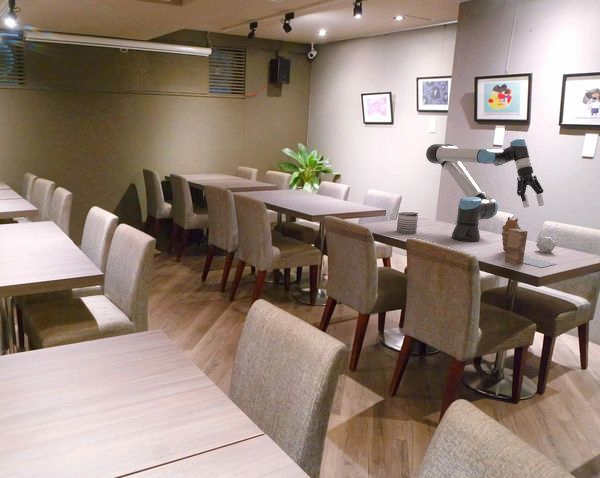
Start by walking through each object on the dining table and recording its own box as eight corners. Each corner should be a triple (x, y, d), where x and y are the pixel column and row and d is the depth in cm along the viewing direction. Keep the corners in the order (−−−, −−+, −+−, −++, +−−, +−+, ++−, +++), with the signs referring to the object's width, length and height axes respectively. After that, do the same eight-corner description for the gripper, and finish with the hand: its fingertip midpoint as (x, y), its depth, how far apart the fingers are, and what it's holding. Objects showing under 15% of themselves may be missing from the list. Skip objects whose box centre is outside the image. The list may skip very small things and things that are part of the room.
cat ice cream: (519, 253, 260) (524, 218, 256) (512, 255, 255) (517, 219, 251) (502, 249, 266) (507, 215, 262) (495, 251, 261) (500, 216, 257)
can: (407, 235, 289) (409, 214, 286) (392, 231, 297) (394, 211, 295) (420, 233, 296) (422, 213, 293) (404, 230, 305) (406, 210, 302)
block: (514, 265, 234) (519, 231, 231) (504, 262, 240) (509, 228, 236) (522, 265, 236) (527, 231, 233) (512, 261, 242) (517, 228, 238)
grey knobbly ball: (552, 256, 261) (561, 240, 262) (538, 246, 261) (547, 231, 262) (544, 257, 269) (553, 242, 270) (530, 248, 269) (539, 233, 271)
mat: (505, 258, 246) (505, 258, 246) (520, 255, 255) (520, 254, 255) (541, 268, 233) (542, 267, 233) (556, 264, 241) (556, 263, 241)
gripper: (516, 165, 260) (526, 206, 258) (544, 165, 274) (554, 203, 271) (503, 170, 266) (513, 209, 264) (531, 169, 280) (541, 206, 278)
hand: (534, 206), depth 268 cm, fingers open, 13 cm apart
